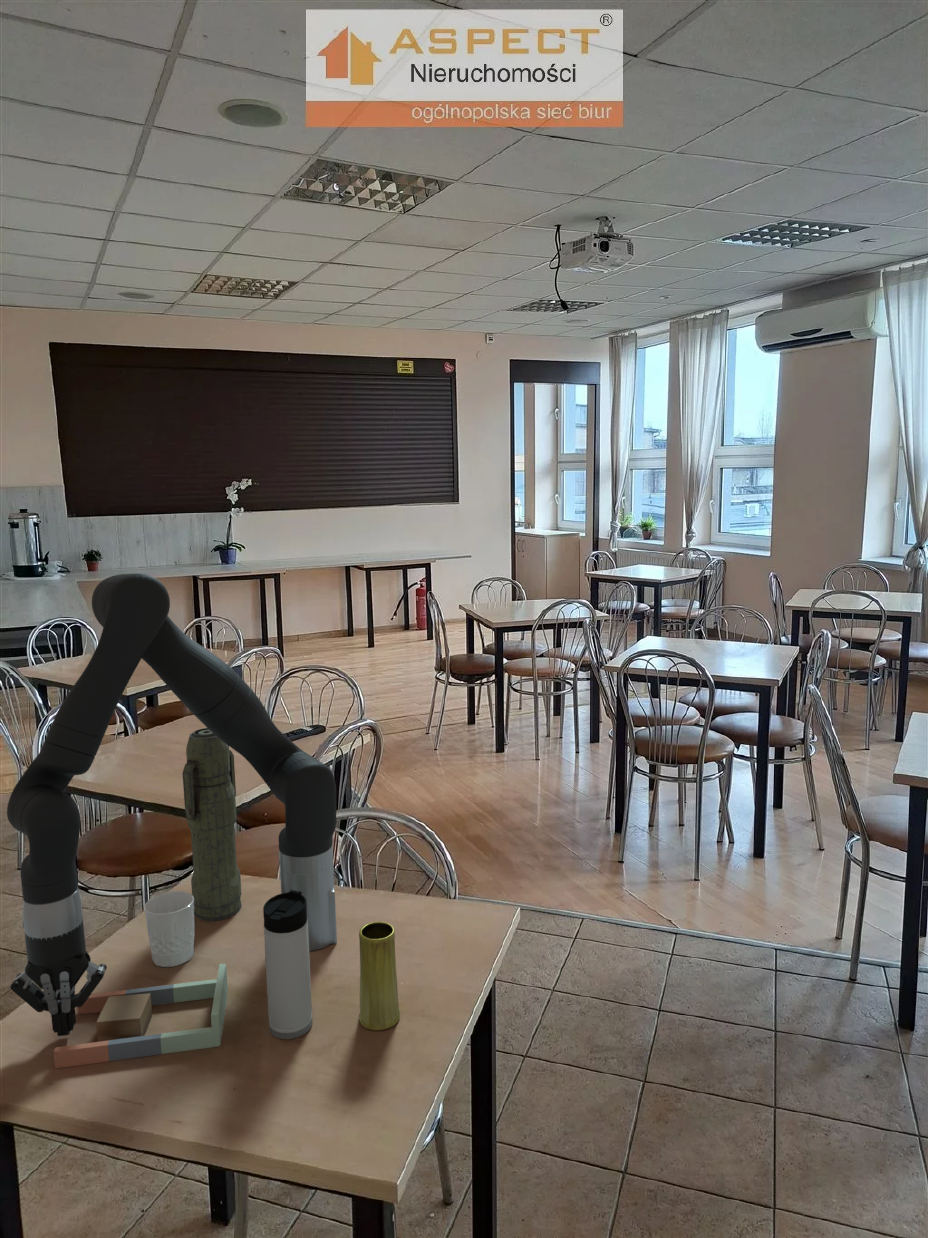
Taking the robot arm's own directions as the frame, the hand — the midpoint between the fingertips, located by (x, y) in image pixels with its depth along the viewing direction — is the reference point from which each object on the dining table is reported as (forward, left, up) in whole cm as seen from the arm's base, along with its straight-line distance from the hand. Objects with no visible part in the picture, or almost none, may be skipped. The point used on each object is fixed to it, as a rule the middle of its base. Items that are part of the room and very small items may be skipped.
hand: (64, 1032), depth 120 cm
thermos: (-18, -34, -1) cm, 39 cm away
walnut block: (-8, 0, -1) cm, 8 cm away
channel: (-11, 0, -1) cm, 11 cm away
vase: (-45, +5, -1) cm, 46 cm away
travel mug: (-32, +4, -1) cm, 33 cm away
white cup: (-12, -19, -1) cm, 23 cm away
